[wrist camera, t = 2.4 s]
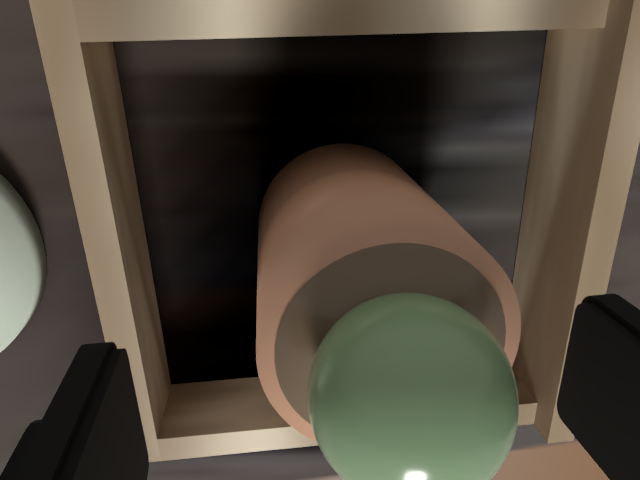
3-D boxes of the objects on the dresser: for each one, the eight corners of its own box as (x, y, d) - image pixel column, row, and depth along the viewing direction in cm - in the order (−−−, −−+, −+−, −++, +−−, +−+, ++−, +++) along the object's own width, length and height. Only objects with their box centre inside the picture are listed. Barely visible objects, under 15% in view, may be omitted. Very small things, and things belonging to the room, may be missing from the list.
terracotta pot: (423, 139, 18) (664, 298, 7) (415, 290, 20) (587, 580, 9) (252, 147, 17) (236, 332, 7) (264, 301, 19) (266, 621, 9)
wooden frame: (581, -6, 16) (674, -17, 13) (521, 372, 22) (573, 440, 18) (71, 5, 15) (9, -4, 11) (149, 406, 21) (125, 487, 17)
